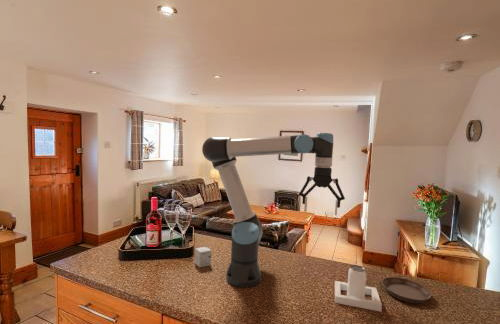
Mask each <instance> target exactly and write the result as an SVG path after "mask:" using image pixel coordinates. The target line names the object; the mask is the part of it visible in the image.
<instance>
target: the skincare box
mask: <svg viewBox="0 0 500 324" xmlns="http://www.w3.org/2000/svg"><path fill="white" fill-rule="evenodd" d="M211 262H212V249H210V248H209V247H208V246H202V247H195V248H194V264H195V265H196V266H198V268H203V267H207V266H208V267H209V266H212V264H211Z"/></svg>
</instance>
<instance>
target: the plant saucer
mask: <svg viewBox="0 0 500 324" xmlns="http://www.w3.org/2000/svg"><path fill="white" fill-rule="evenodd" d="M381 284H382V286H383V288H384V289H385V291H386V292H387V293H388V294H389V295H390V296H392V297H394V298H395V299H398V300H400V301H402V302H407V303H411V304H423V303H425V302H427V301H429V300H430V299H431V297H432V292H431V291H430V290H429V289H428V288H427V287H426V286H424V285H422V284H420V283H418V282H416V281H413V280H410V279H407V278H403V277H402V278H401V277H395V276H389V277H385V278H383V279H382V280H381Z"/></svg>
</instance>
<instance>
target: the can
mask: <svg viewBox="0 0 500 324" xmlns="http://www.w3.org/2000/svg"><path fill="white" fill-rule="evenodd" d="M347 272H348V273H347V274H348V275H347V276H348V277H347V283H348V286H347V291H346V296H351V297H356V298H362V299H366V298H365V296H366V294H365V286H367V285H366V282H367V272H366V268H365V267H363V266H361V265H356V264H352V265H350V266H349V269H348V271H347Z"/></svg>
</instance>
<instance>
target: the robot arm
mask: <svg viewBox="0 0 500 324" xmlns="http://www.w3.org/2000/svg"><path fill="white" fill-rule="evenodd" d="M333 149H334V134H333V133H331V132H318V133H316V136H314V137H312V136H310V135H308V134H306V133H305V134H297V135H283V136H281V135H279V136H267V137H266V136H265V137H250V138H248V137H247V138H235V139H234V138H231V136H229V137H227V136H226V137H220V136H211V137H209V138H207V139H206V140H205V141H204V142H203V144H202V149H201V151H202V152H201V153H202V154H203V156H204V158H205V159H206V160H208V162H211V164H212V167H213V169H214V170H216V171H218V174H219V177H220V180H221V182H222V185H223V187H224V190H225V193H226V196H227V198H228V202H229V204H230V207H231V210H232V213H233V215H234V219H233V221H232V222H233V224H234V225H233V227H232V231H231V249H230V251H231V252H230V262H229V265H228V268H227V270H226V272H225V275H226V276H225V280H226V282H227V283H228V284H229V285H232V286H235V287H237V288H250V287H251V288H252V287H254V286H257V285H259V284H260V283H261V281H262V273H261V269H260V265H259V246H260V245H259V244H260V242H261V239H262V237H263V234H264V227H263V224H262V222H261V221H260V220H259V219H258V215H257V213H256V212H254V211H252V207H251V206H250V202H249V199H248V197H247V194H246V191H245V189H244V185H243V182H242V180H241V178H240V174H239V172H238V169H237V167H236V163H237V157H255V156H270V155H271V156H272V155H273V156H274V155H289V154H290V155H291V154H295V155H296V154H314V155H315V158H314V166H315V167H314V176H313V177H312V176H307V178H306V181H305V183H304V185H303V187H302V188H301V190H300V191H299V192H298V193H299V194H298V196H300V197H302V202H301V203H302V205H304V212H305V213H307V209H308V197H307V196H308V195H309V194H310V193H311V192H312V191H313V190H314V189H315V188H316V187H318V188H324V189H326V188H328V189H329V191H330V192H331V193H332V195H333V196H334V197H335V198H336V199H335V206H334V207H335V208H334V216H337V214H338V209H339V208H341V201H343V200H345V199H346V197H345V196H344V193H343V191H342V188H341V186H340V183H339V179H338V178H337V177H336V178H332V171H333V170H332V166H333V153H334V150H333ZM311 181H313V182H314V184H312V185H311V187H309V189H308V190H307V191H306V192H305V190H306V189H307V186H308V184H309V183H310V182H311ZM331 183H333V184H335V186H336V189H337V191H338V193H339V194H338V193H337V192H336V191H335V190H334V188H333V187H332V186H331ZM304 192H305V193H304ZM339 195H340V196H339Z"/></svg>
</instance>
